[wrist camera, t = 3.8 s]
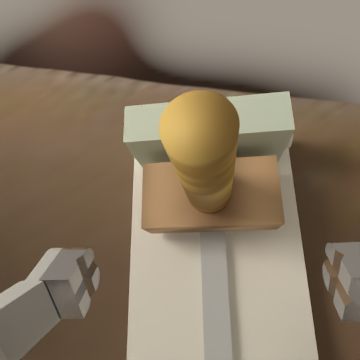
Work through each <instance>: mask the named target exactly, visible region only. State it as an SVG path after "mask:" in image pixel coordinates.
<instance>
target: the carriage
mask: <svg viewBox="0 0 360 360" xmlns="http://www.w3.org/2000/svg"><path fill="white" fill-rule="evenodd" d="M239 128H240V121H239V116H238V113H237V110H236V108H235V107H234V105H233V104H232V103H231V102H230V101H229V100H228V99H227V98H226V97H224V96H223V95H221V94H219V93H216V92H213V91H208V90H195V91H190V92H187V93H184V94H182V95H180V96H178V97H176V98H175V99H174V100H172V101H171V102H170V103H169V104H168V105H167V107H166V108H165V109H164V111H163V113H162V115H161V118H160V121H159V135H160V139H161V141H162V144H163V146H164V148H165V150H166V152H167V154H168V157H169V159H170V161H171V162H162V163H146V164H143V181H142V217H141V229H143V230H145V231H147V232H149V233H151V234H156V233H187V232H218V231H249V230H277V229H278V228H280V227H281V226H282V225H284V224H285V219H284V211H283V204H282V196H281V188H280V180H279V172H278V164H277V156H276V155H270V156H254V157H239V158H236V153H237V144H238V136H239Z"/></svg>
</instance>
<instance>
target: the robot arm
mask: <svg viewBox="0 0 360 360" xmlns="http://www.w3.org/2000/svg"><path fill="white" fill-rule="evenodd" d="M325 253H326V255H327V257H328V258H327V259H326V260H325V261H324V262H323V269H322V271H323V279H324V283H325V286H326V288H327V290H328V292H330V293H331V294H332V295H334V302H333V303H334V306H335V308H336V310H337V312H338V314H339V316H340V318H341V321H343V322H360V241H352V242H328V243H327V245H326V248H325ZM94 257H95V256H94V253H93V250H92V249H91V248H51V249H49V250H47V252H46V253H45V254H44V256H43V257H42V258H41V260H40V261H39V262H38V264H37V265H36V266H35V268H34V269H33V270H32V272H31V273H30V274H29V276H28V277H27V278H26V280H25V281H20V282H18V283H16V284H15V285H13V286H12V287H10V288H8V289H7V290H5V291H4V292H2V293H0V360H20V359H21V358H22V357H23V356H24V355H25V354H26V353H27V352H28V351H29V350H30V349H31V348H32V347H33V346H34V345H35V344H37V343H38V342H39V341H40V340H41V339H42V338H43V337H44V336H45V335H46V334H47V333H48V332H49V331H50V330H51V329H52V328H53V327H54V326H55V325H56V324H57V323H58V322H59V321H60V319H84V317H85V315H86V313H87V310H88V308H89V306H90V304H91V300H90V296H91V295H92V294H94V293H95V292H96V290H97V287H98V285H99V278H100V274H99V268H98V265H96V264H95V263H94V262H93V259H94Z"/></svg>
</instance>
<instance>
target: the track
mask: <svg viewBox="0 0 360 360" xmlns="http://www.w3.org/2000/svg"><path fill="white" fill-rule="evenodd" d="M226 98H227V99H228V100H229V101H230V102H231V103H232V104H233V105H234V107H235V108H236V110H237V113H238V116H239V121H240V128H239V136H238V144H237V153H236V158H239V157H254V156H270V155H276V156H277V164H278V172H279V180H280V188H281V196H282V204H283V211H284V219H285V224H284V225H282V226H281V227H280V228H278V229H277V230H249V231H218V232H187V233H156V234H151V233H149V232H147V231H145V230H143V229H141V217H142V181H143V164H146V163H162V162H171V161H170V159H169V157H168V154H167V152H166V150H165V148H164V146H163V144H162V141H161V139H160V135H159V121H160V118H161V115H162V113H163V111H164V109H165V108H166V107H167V105H168V104H169V103H170V102H168V103H157V104H146V105H135V106H125V116H124V135H123V143H124V144H125V146H126V147H127V148H128V149H129V151H130V152H131V153H132V155H133V156H134V180H133V206H132V233H131V259H130V286H129V312H128V338H127V360H319V359H318V352H317V345H316V338H315V331H314V324H313V317H312V310H311V303H310V296H309V289H308V282H307V275H306V268H305V261H304V254H303V247H302V240H301V233H300V225H299V218H298V211H297V204H296V197H295V190H294V183H293V176H292V169H291V162H290V155H289V148H290V147H291V145H292V141H293V132H294V131H295V126H294V120H293V113H292V107H291V100H290V94H289V91H288V92H277V93H266V94H255V95H244V96H233V97H226Z"/></svg>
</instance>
